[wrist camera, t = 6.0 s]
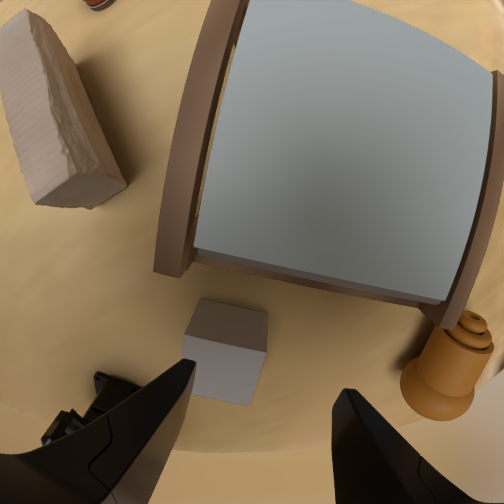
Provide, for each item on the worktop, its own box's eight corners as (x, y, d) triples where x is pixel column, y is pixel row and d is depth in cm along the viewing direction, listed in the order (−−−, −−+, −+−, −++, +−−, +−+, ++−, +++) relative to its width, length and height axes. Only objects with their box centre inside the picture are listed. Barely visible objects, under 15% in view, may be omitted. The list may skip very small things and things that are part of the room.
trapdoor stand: (441, 98, 16) (511, 79, 8) (399, 277, 20) (452, 331, 12) (239, 34, 15) (223, -31, 8) (195, 231, 20) (153, 273, 12)
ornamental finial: (444, 371, 23) (476, 420, 15) (385, 371, 23) (412, 431, 15) (477, 300, 20) (525, 341, 13) (419, 291, 20) (468, 341, 13)
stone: (253, 363, 23) (249, 406, 18) (193, 350, 23) (178, 390, 18) (267, 312, 21) (267, 352, 17) (201, 297, 21) (184, 334, 16)
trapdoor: (481, 77, 9) (492, 73, 8) (432, 300, 13) (441, 308, 12) (257, -9, 9) (256, -20, 8) (197, 250, 13) (192, 257, 12)
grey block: (39, 86, 15) (-15, 36, 6) (76, 62, 16) (36, -2, 7) (90, 211, 19) (32, 218, 10) (130, 185, 19) (96, 171, 10)
